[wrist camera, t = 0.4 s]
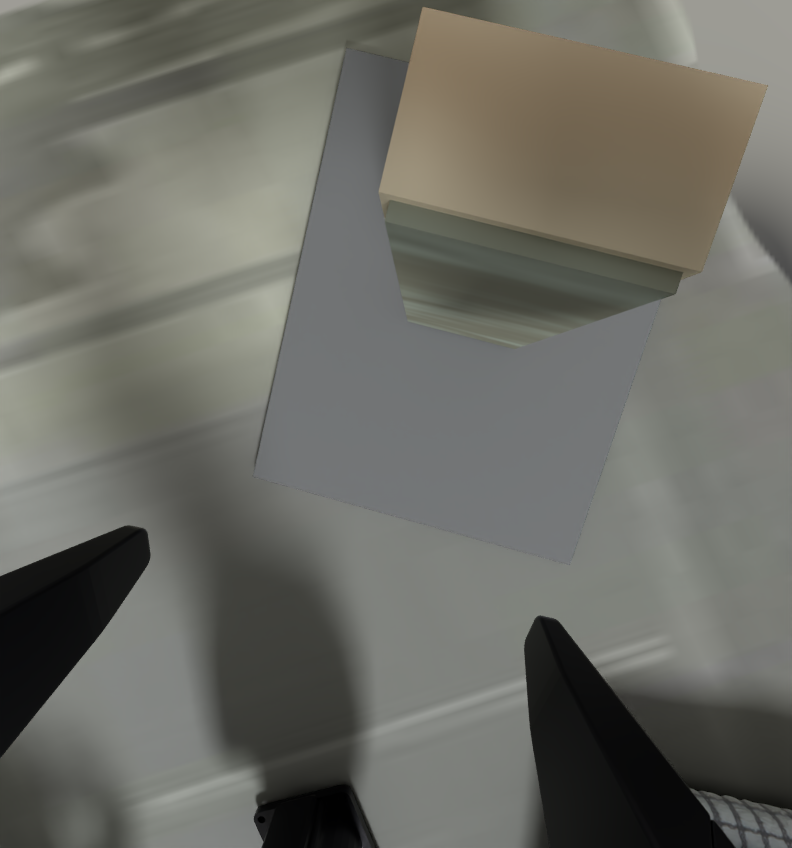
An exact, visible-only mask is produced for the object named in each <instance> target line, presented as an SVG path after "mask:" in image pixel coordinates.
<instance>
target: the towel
mask: <svg viewBox="0 0 792 848" xmlns="http://www.w3.org/2000/svg"><path fill="white" fill-rule="evenodd" d="M690 790H691V791H692V792H693V793H694V795H695V796H696V797H697V799H698V800H699V801H700V802H701V804H702V805H703V806H704V808H705V809H706V810H707V811H708V813H709V814H710V818H711V820H714V821H715V822H716V823H717V824H718V825H719V826H720V828H721V829H722V830H723V832H724V833H725V834H726V835H727V837H728V838H729V839H730V841H731V842H732V843H733V844H734V846H735V847H736V848H792V810H790V809H783V808H778V807H773V806H770V805H767V804H761V803H753V802H750V801H748V800H745V799H743V800H737V799H736V798H734V797H731V796H727V795H724V796H718V795H716V794H714V793H711V792H706V791H696V790H694V789H691V788H690Z"/></svg>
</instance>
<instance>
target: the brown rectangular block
mask: <svg viewBox="0 0 792 848" xmlns="http://www.w3.org/2000/svg"><path fill="white" fill-rule="evenodd" d="M767 87H768V85H763V84H759V83H755V82H750V81H746V80H742V79H737V78H733V77H729V76H724V75H720V74H716V73H711V72H706V71H702V70H698V69H694V68H689V67H685V66H681V65H676V64H672V63H667V62H663V61H659V60H654V59H650V58H645V57H641V56H637V55H632V54H628V53H624V52H619V51H615V50H610V49H606V48H602V47H597V46H593V45H589V44H584V43H580V42H575V41H571V40H567V39H562V38H558V37H553V36H549V35H545V34H540V33H536V32H532V31H527V30H523V29H518V28H514V27H510V26H505V25H501V24H497V23H492V22H488V21H483V20H479V19H475V18H470V17H466V16H461V15H457V14H453V13H448V12H444V11H440V10H435V9H431V8H426V7H423V8H422V12H421V16H420V20H419V24H418V29H417V33H416V37H415V41H414V45H413V49H412V54H411V58H410V62H409V66H408V70H407V75H406V79H405V83H404V87H403V91H402V95H401V100H400V104H399V108H398V112H397V116H396V121H395V125H394V129H393V133H392V137H391V141H390V146H389V150H388V154H387V158H386V162H385V167H384V171H383V175H382V179H381V183H380V187H379V196H380V201H381V205H382V210H383V214H384V218H385V225H386V230H387V234H388V238H389V243H390V247H391V251H392V256H393V260H394V264H395V269H396V273H397V278H398V282H399V286H400V291H401V295H402V299H403V304H404V308H405V312H406V317H407V321H408V322H412V323H416V324H419V325H423V326H427V327H431V328H435V329H439V330H443V331H446V332H450V333H454V334H458V335H462V336H466V337H470V338H473V339H477V340H481V341H485V342H489V343H493V344H496V345H500V346H504V347H508V348H512V349H517V348H519V347H522V346H525V345H528V344H531V343H534V342H537V341H540V340H543V339H546V338H549V337H552V336H555V335H557V334H560V333H563V332H566V331H569V330H572V329H575V328H578V327H581V326H584V325H587V324H590V323H593V322H595V321H598V320H601V319H604V318H607V317H610V316H613V315H616V314H619V313H622V312H625V311H628V310H631V309H633V308H636V307H639V306H642V305H645V304H648V303H651V302H654V301H657V300H660V299H663V298H666V297H669V296H672V295H674V294H676V291H677V289H678V286H679V283H680V280H682V279H685V278H688V277H690V276H693V275H695V274H698V273H700V272H702V270H703V268H704V265H705V262H706V259H707V256H708V254H709V251H710V248H711V245H712V242H713V239H714V237H715V234H716V231H717V228H718V225H719V223H720V220H721V217H722V214H723V211H724V208H725V206H726V203H727V200H728V197H729V194H730V191H731V189H732V186H733V183H734V180H735V177H736V175H737V172H738V169H739V166H740V163H741V160H742V157H743V155H744V152H745V149H746V146H747V143H748V140H749V138H750V135H751V132H752V129H753V126H754V124H755V121H756V118H757V115H758V112H759V109H760V107H761V104H762V101H763V98H764V95H765V93H766V90H767Z"/></svg>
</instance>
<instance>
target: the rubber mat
mask: <svg viewBox="0 0 792 848" xmlns="http://www.w3.org/2000/svg"><path fill="white" fill-rule="evenodd" d="M408 66H409V62H405V61H400V60H396V59H392V58H388V57H383V56H379V55H375V54H370V53H366V52H362V51H358V50H353V49H349V48H346V53H345V57H344V62H343V66H342V71H341V76H340V80H339V85H338V89H337V94H336V99H335V103H334V108H333V112H332V117H331V121H330V126H329V131H328V135H327V140H326V144H325V149H324V154H323V158H322V163H321V167H320V172H319V176H318V181H317V186H316V190H315V195H314V199H313V204H312V209H311V213H310V218H309V222H308V227H307V231H306V236H305V241H304V245H303V250H302V254H301V259H300V263H299V268H298V273H297V277H296V282H295V286H294V291H293V296H292V300H291V305H290V309H289V314H288V318H287V323H286V328H285V332H284V337H283V341H282V346H281V351H280V355H279V360H278V364H277V369H276V373H275V378H274V383H273V387H272V392H271V396H270V401H269V405H268V410H267V415H266V419H265V424H264V428H263V433H262V438H261V442H260V447H259V451H258V456H257V460H256V465H255V470H254V474H253V477H255V478H259V479H262V480H266V481H270V482H273V483H277V484H280V485H284V486H288V487H291V488H295V489H298V490H302V491H305V492H309V493H313V494H316V495H320V496H323V497H327V498H331V499H334V500H338V501H341V502H345V503H348V504H352V505H356V506H359V507H363V508H366V509H370V510H374V511H377V512H381V513H384V514H388V515H391V516H395V517H399V518H402V519H406V520H409V521H413V522H417V523H420V524H424V525H427V526H431V527H434V528H438V529H442V530H445V531H449V532H452V533H456V534H460V535H463V536H467V537H470V538H474V539H478V540H481V541H485V542H488V543H492V544H495V545H499V546H503V547H506V548H510V549H513V550H517V551H521V552H524V553H528V554H531V555H535V556H538V557H542V558H546V559H549V560H553V561H556V562H560V563H564V564H567V565H570V563H571V560H572V557H573V555H574V552H575V549H576V546H577V543H578V540H579V537H580V534H581V531H582V528H583V526H584V523H585V520H586V517H587V514H588V511H589V508H590V505H591V502H592V499H593V496H594V494H595V491H596V488H597V485H598V482H599V479H600V476H601V473H602V470H603V467H604V464H605V462H606V459H607V456H608V453H609V450H610V447H611V444H612V441H613V438H614V435H615V432H616V430H617V427H618V424H619V421H620V418H621V415H622V412H623V409H624V406H625V403H626V400H627V398H628V395H629V392H630V389H631V386H632V383H633V380H634V377H635V374H636V371H637V368H638V366H639V363H640V360H641V357H642V354H643V351H644V348H645V345H646V342H647V339H648V337H649V334H650V331H651V328H652V325H653V322H654V319H655V316H656V313H657V310H658V307H659V305H660V302H661V299H660V300H657V301H654V302H651V303H648V304H645V305H642V306H639V307H636V308H633V309H631V310H628V311H625V312H622V313H619V314H616V315H613V316H610V317H607V318H604V319H601V320H598V321H595V322H593V323H590V324H587V325H584V326H581V327H578V328H575V329H572V330H569V331H566V332H563V333H560V334H557V335H555V336H552V337H549V338H546V339H543V340H540V341H537V342H534V343H531V344H528V345H525V346H522V347H519V348H517V349H512V348H508V347H504V346H500V345H496V344H493V343H489V342H485V341H481V340H477V339H473V338H470V337H466V336H462V335H458V334H454V333H450V332H446V331H443V330H439V329H435V328H431V327H427V326H423V325H419V324H416V323H412V322H408V321H407V317H406V312H405V308H404V304H403V299H402V295H401V291H400V286H399V282H398V278H397V273H396V269H395V264H394V260H393V256H392V251H391V247H390V243H389V238H388V234H387V230H386V225H385V218H384V214H383V210H382V205H381V201H380V196H379V187H380V183H381V179H382V175H383V171H384V167H385V162H386V158H387V154H388V150H389V146H390V141H391V137H392V133H393V129H394V125H395V121H396V116H397V112H398V108H399V104H400V100H401V95H402V91H403V87H404V83H405V79H406V75H407V70H408Z"/></svg>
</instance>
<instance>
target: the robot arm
mask: <svg viewBox="0 0 792 848" xmlns="http://www.w3.org/2000/svg"><path fill="white" fill-rule="evenodd" d="M149 560H150V547H149V540H148V533H147V531H146V530H145V529H143V528H140V527H135V526H130V525H127V526H123V527H121V528H118V529H116V530H113V531H111V532H108V533H106V534H103V535H101V536H98V537H96V538H93V539H91V540H88V541H86V542H83V543H81V544H79V545H76V546H74V547H71V548H69V549H66V550H64V551H61V552H59V553H56V554H54V555H51V556H49V557H46V558H44V559H41V560H39V561H36V562H34V563H32V564H29V565H27V566H24V567H22V568H19V569H17V570H14V571H12V572H9V573H7V574H4V575H2V576H0V758H1V756H2V755H3V754H4V753H5V752H6V750H7V749H8V748H9V747H10V745H11V744H12V743H13V742H14V740H15V739H16V738H17V737H18V736H19V734H20V733H21V732H22V731H23V729H24V728H25V727H26V726H27V724H28V723H29V722H30V721H31V719H32V718H33V717H34V716H35V715H36V713H37V712H38V711H39V710H40V708H41V707H42V706H43V705H44V703H45V702H46V701H47V700H48V698H49V697H50V696H51V695H52V694H53V692H54V691H55V690H56V689H57V687H58V686H59V685H60V684H61V682H62V681H63V680H64V679H65V677H66V676H67V675H68V674H69V673H70V671H71V670H72V669H73V668H74V666H75V665H76V664H77V663H78V661H79V660H80V659H81V658H82V656H83V655H84V654H85V653H86V652H87V650H88V649H89V648H90V647H91V645H92V644H93V643H94V642H95V640H96V639H97V638H98V637H99V635H100V634H101V633H102V631H103V630H104V629H105V627H106V626H107V625H108V623H109V622H110V620H111V619H112V617H113V616H114V614H115V613H116V611H117V610H118V609H119V607H120V606H121V604H122V603H123V601H124V600H125V598H126V597H127V595H128V594H129V592H130V591H131V589H132V588H133V586H134V585H135V583H136V582H137V580H138V579H139V577H140V576H141V574H142V573H143V571H144V570H145V568H146V567H147V565H148V563H149ZM524 655H525V668H526V682H527V696H528V710H529V722H530V731H531V738H532V745H533V751H534V757H535V763H536V769H537V774H538V780H539V786H540V792H541V798H542V804H543V810H544V816H545V822H546V828H547V834H548V840H549V846H550V848H736V847H735V846H734V844H733V843H732V842H731V841H730V839H729V838H728V837H727V835H726V834H725V833H724V832H723V830H722V829H721V828H720V826H719V825H718V824H717V823H716V822H715V821H714V820H711V818H710V814H709V813H708V811H707V810H706V809H705V808H704V806H703V805H702V804H701V802H700V801H699V800H698V799H697V797H696V796H695V795H694V793H693V792H692V791H691V790H690V788H689V787H688V786H687V785H686V783H685V782H684V781H683V779H682V778H681V777H680V776H679V774H678V773H677V772H676V770H675V769H674V768H673V767H672V765H671V764H670V763H669V762H668V760H667V759H666V758H665V756H664V755H663V754H662V753H661V751H660V750H659V749H658V747H657V746H656V745H655V744H654V742H653V741H652V740H651V739H650V737H649V736H648V735H647V733H646V732H645V731H644V730H643V728H642V727H641V726H640V724H639V723H638V722H637V721H636V719H635V718H634V717H633V716H632V714H631V713H630V712H629V710H628V709H627V708H626V707H625V705H624V704H623V703H622V701H621V700H620V699H619V698H618V696H617V695H616V694H615V693H614V691H613V690H612V689H611V687H610V686H609V685H608V684H607V682H606V681H605V680H604V678H603V677H602V676H601V675H600V673H599V672H598V671H597V670H596V668H595V667H594V666H593V664H592V663H591V662H590V661H589V659H588V658H587V657H586V655H585V654H584V653H583V652H582V650H581V649H580V648H579V647H578V645H577V644H576V643H575V641H574V640H573V639H572V638H571V636H570V635H569V634H568V632H567V631H566V630H565V629H564V627H563V626H562V625H561V624H560V622H559V621H557V620H556V619H554V618H549V617H545V616H537V617H536V618H535V620H534V622H533V624H532V626H531V629H530V631H529V633H528V635H527V637H526V640H525V645H524ZM254 822H255V824H256V826H257V829H258V831H259V833H260V835H261V838H262V840H263V845H262V848H375V846H374V843H373V841H372V838H371V836H370V834H369V831H368V829H367V826H366V824H365V822H364V819H363V817H362V814H361V812H360V810H359V807H358V805H357V802H356V800H355V798H354V795H353V793H352V790H351V789H350V787H348V786H346V785H340V786H336V787H332V788H328V789H324V790H320V791H316V792H313V793H309V794H305V795H301V796H297V797H293V798H289V799H285V800H282V801H278V802H274V803H270V804H266V805H262V806H260V807H258V808H257V811H256V813H255V816H254Z"/></svg>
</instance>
